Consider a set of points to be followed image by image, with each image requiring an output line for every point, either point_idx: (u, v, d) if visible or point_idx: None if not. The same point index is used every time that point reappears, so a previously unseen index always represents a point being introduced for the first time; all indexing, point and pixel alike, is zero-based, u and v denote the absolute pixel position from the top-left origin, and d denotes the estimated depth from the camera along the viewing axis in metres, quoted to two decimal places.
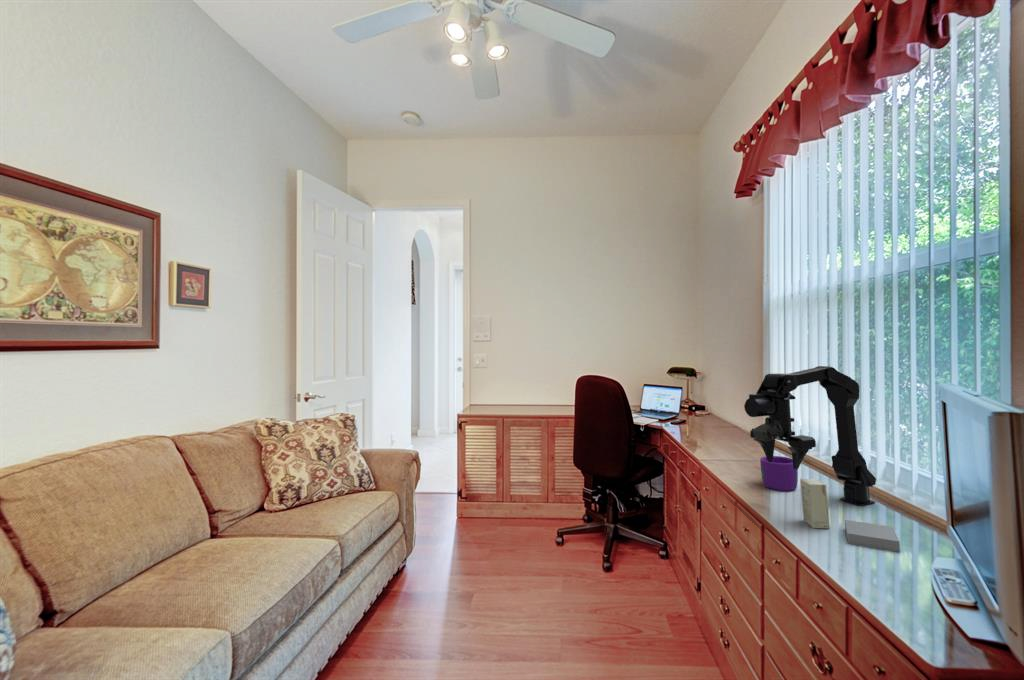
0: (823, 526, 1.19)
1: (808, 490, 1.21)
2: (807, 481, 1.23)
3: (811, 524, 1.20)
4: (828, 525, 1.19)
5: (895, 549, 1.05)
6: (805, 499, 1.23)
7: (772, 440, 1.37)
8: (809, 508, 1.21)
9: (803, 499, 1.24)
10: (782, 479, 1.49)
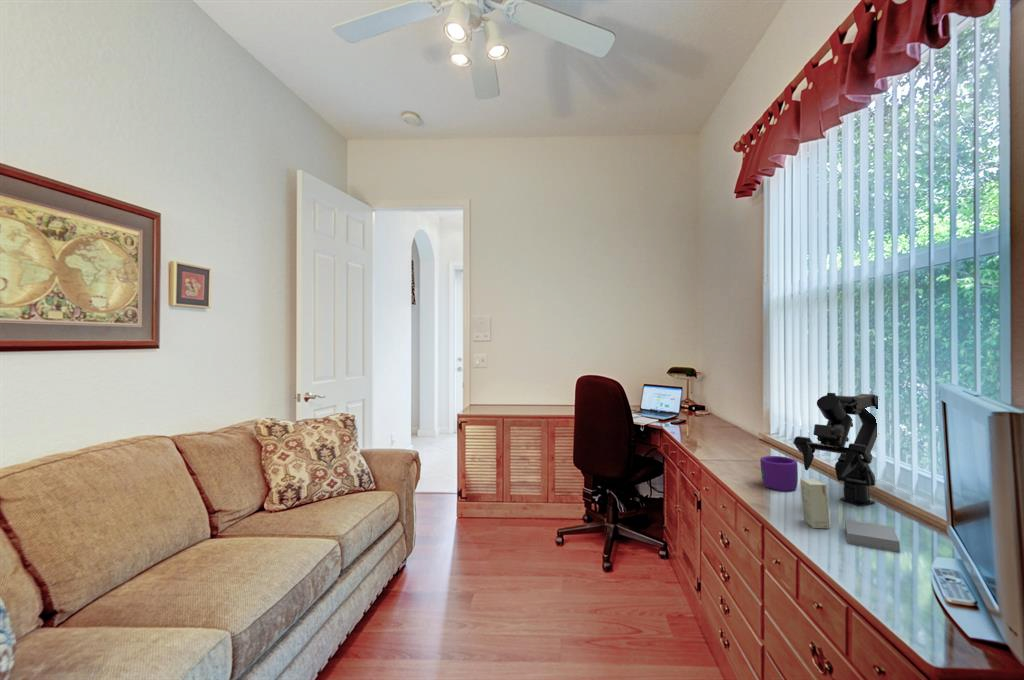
0: (823, 526, 1.19)
1: (808, 490, 1.21)
2: (807, 481, 1.23)
3: (811, 524, 1.20)
4: (828, 525, 1.19)
5: (895, 549, 1.05)
6: (805, 499, 1.23)
7: (812, 454, 1.34)
8: (809, 508, 1.21)
9: (803, 499, 1.24)
10: (782, 479, 1.49)
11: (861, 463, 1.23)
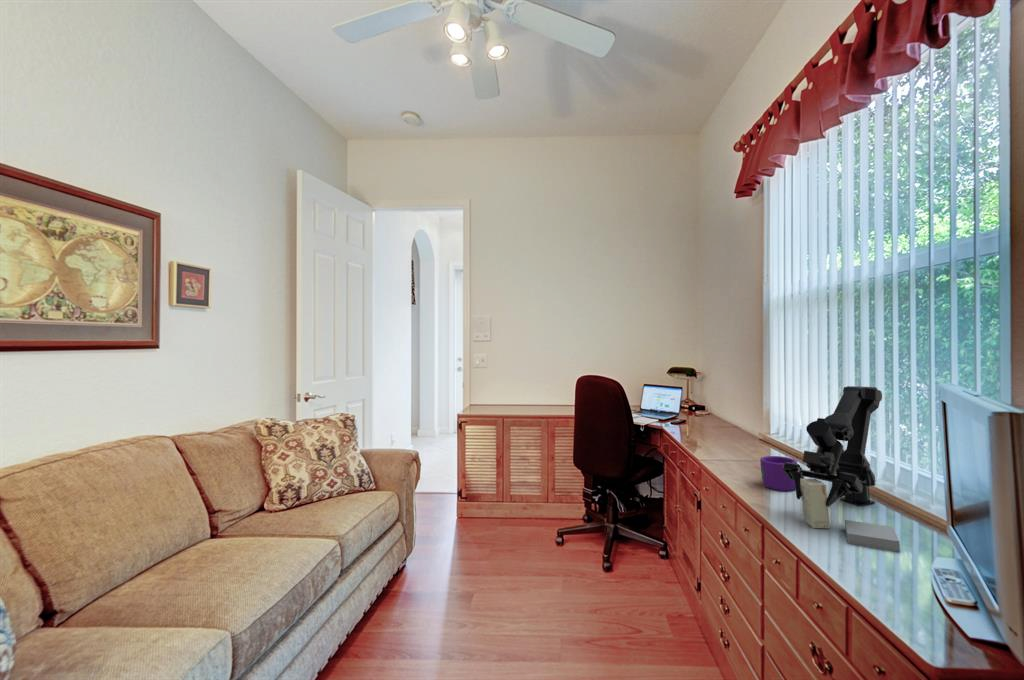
0: (823, 526, 1.19)
1: (808, 490, 1.21)
2: (807, 481, 1.23)
3: (811, 524, 1.20)
4: (828, 525, 1.19)
5: (895, 549, 1.05)
6: (805, 499, 1.23)
7: None
8: (809, 508, 1.21)
9: (803, 499, 1.24)
10: (782, 479, 1.49)
11: (847, 492, 1.19)
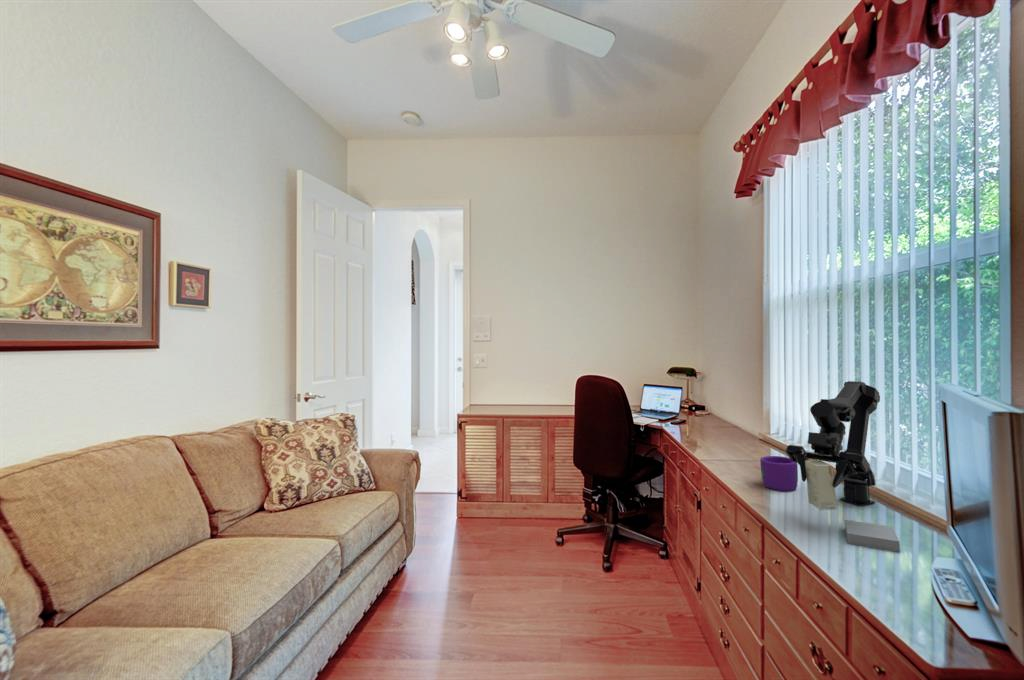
0: (830, 507, 1.17)
1: (815, 471, 1.19)
2: (813, 463, 1.21)
3: (818, 506, 1.19)
4: (835, 506, 1.17)
5: (895, 549, 1.05)
6: (811, 481, 1.21)
7: None
8: (816, 490, 1.19)
9: (808, 481, 1.23)
10: (782, 479, 1.49)
11: (853, 472, 1.18)
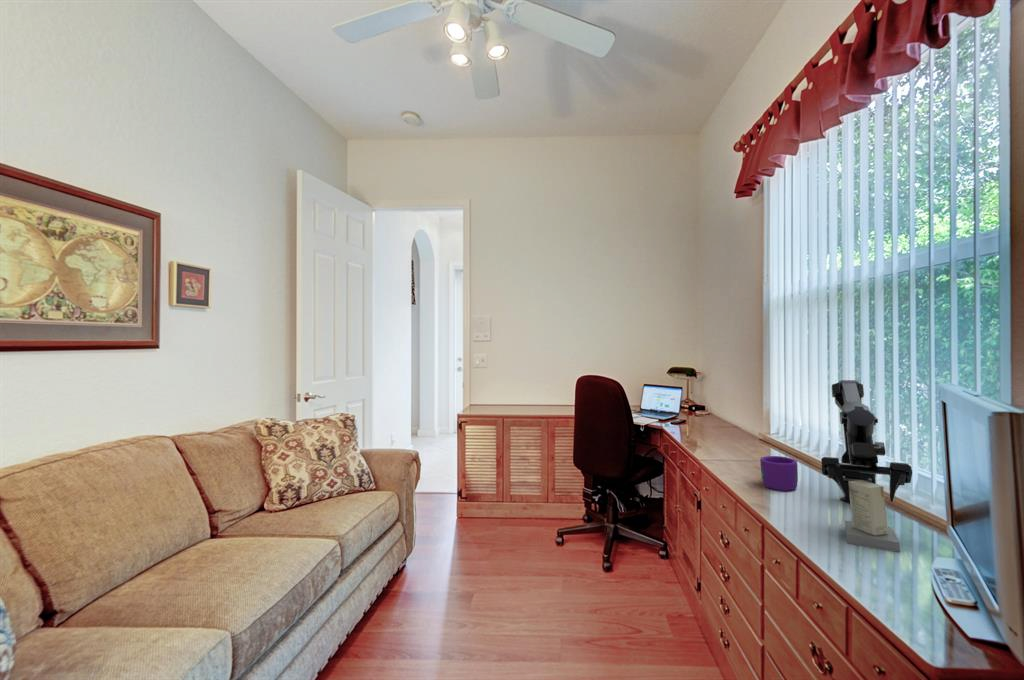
0: (883, 532, 1.09)
1: (868, 494, 1.09)
2: (861, 484, 1.12)
3: (870, 531, 1.09)
4: (886, 530, 1.09)
5: (895, 550, 1.05)
6: (859, 504, 1.12)
7: None
8: (868, 514, 1.09)
9: (854, 504, 1.13)
10: (782, 479, 1.49)
11: (901, 483, 1.11)
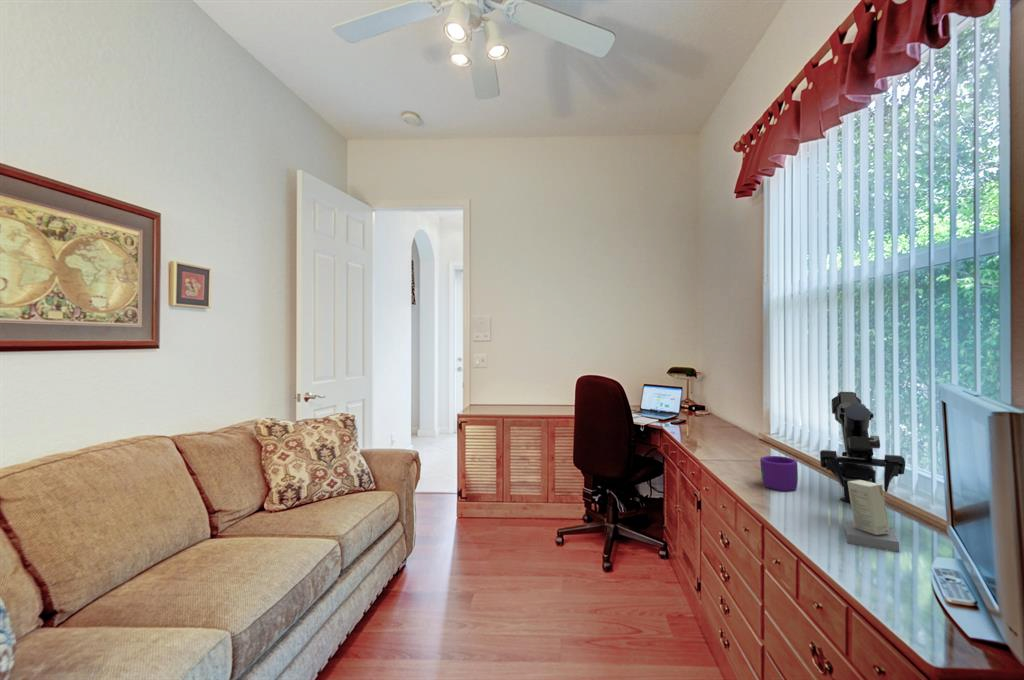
0: (884, 531, 1.08)
1: (867, 492, 1.10)
2: (860, 483, 1.12)
3: (872, 531, 1.09)
4: (888, 529, 1.09)
5: (895, 550, 1.05)
6: (859, 503, 1.12)
7: None
8: (869, 514, 1.09)
9: (855, 504, 1.13)
10: (782, 479, 1.49)
11: (895, 475, 1.18)
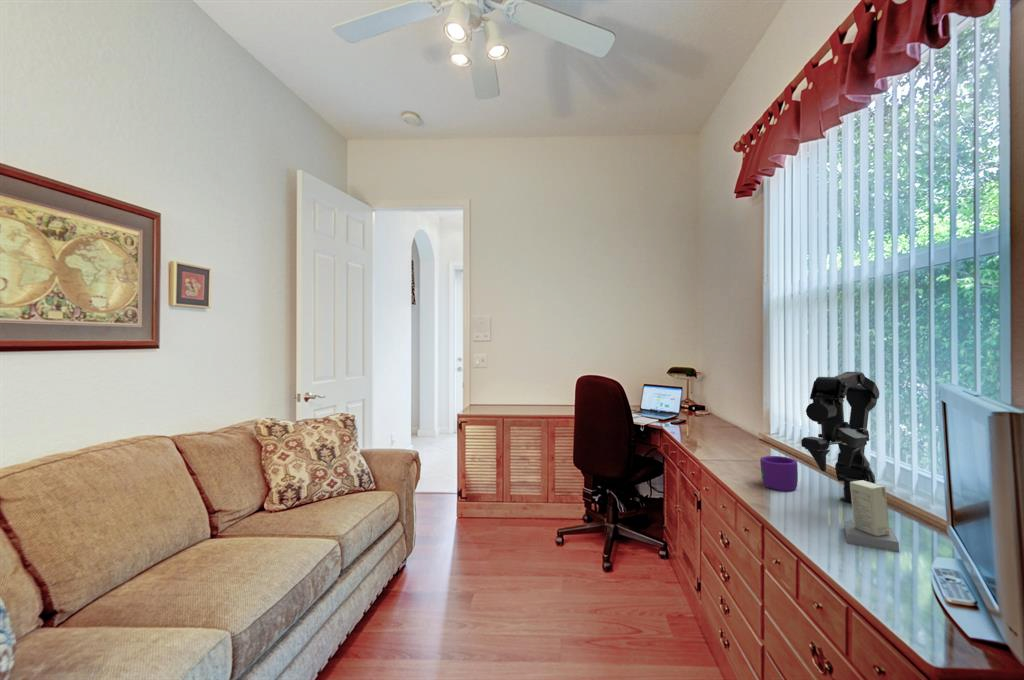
0: (885, 532, 1.08)
1: (869, 494, 1.09)
2: (863, 484, 1.11)
3: (872, 532, 1.09)
4: (888, 530, 1.09)
5: (894, 550, 1.05)
6: (861, 504, 1.11)
7: None
8: (870, 515, 1.09)
9: (856, 504, 1.13)
10: (782, 479, 1.49)
11: None
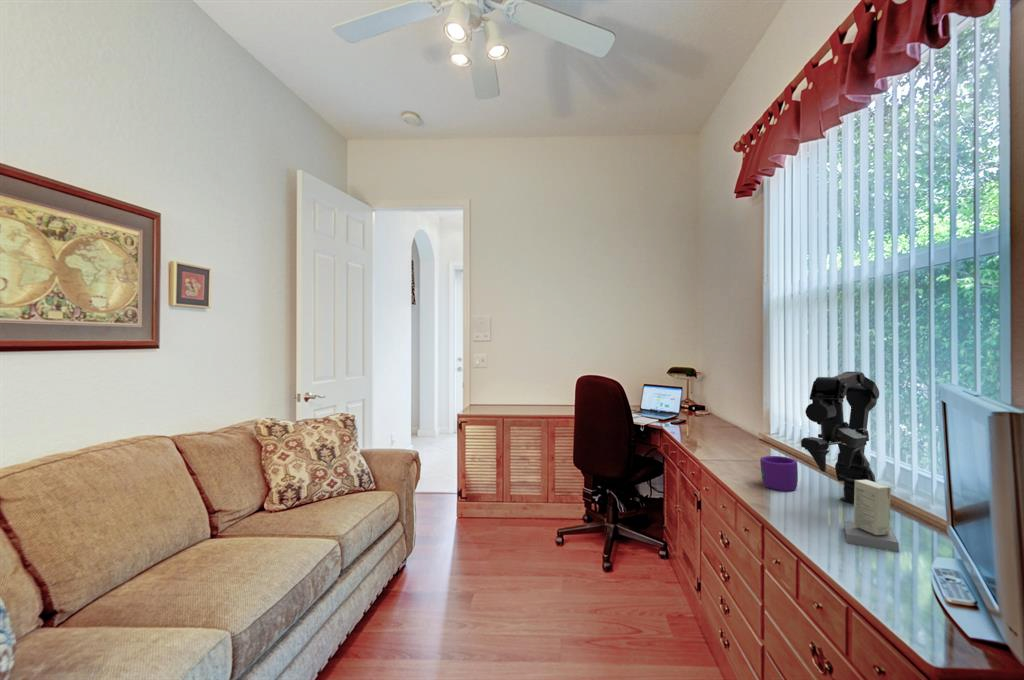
0: (884, 532, 1.08)
1: (874, 494, 1.09)
2: (868, 483, 1.11)
3: (872, 531, 1.09)
4: (888, 531, 1.09)
5: (894, 550, 1.05)
6: (863, 503, 1.11)
7: None
8: (872, 514, 1.09)
9: (858, 503, 1.12)
10: (782, 479, 1.49)
11: None
